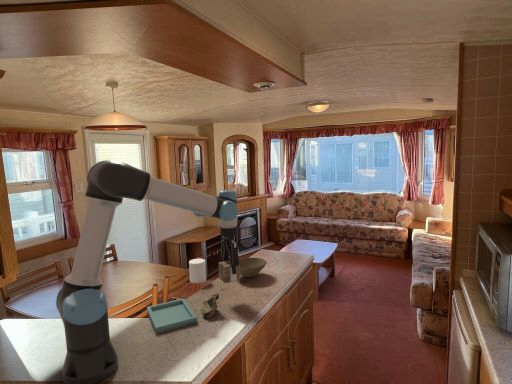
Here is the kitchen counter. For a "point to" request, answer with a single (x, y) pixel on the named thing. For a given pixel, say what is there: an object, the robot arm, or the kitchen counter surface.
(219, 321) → the kitchen counter surface
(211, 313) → the rock
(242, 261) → the bowl
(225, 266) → the walnut cube
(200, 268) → the mug
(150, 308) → the tray
